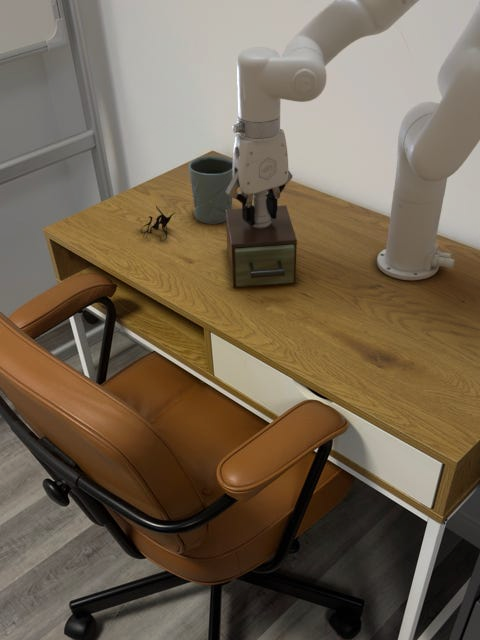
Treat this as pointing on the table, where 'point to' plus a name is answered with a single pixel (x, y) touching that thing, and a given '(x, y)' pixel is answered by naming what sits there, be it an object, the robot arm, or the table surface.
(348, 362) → the table surface
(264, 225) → the rook chess piece
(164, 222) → the creature
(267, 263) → the drawer
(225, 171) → the grey green cup
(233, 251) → the cabinet
